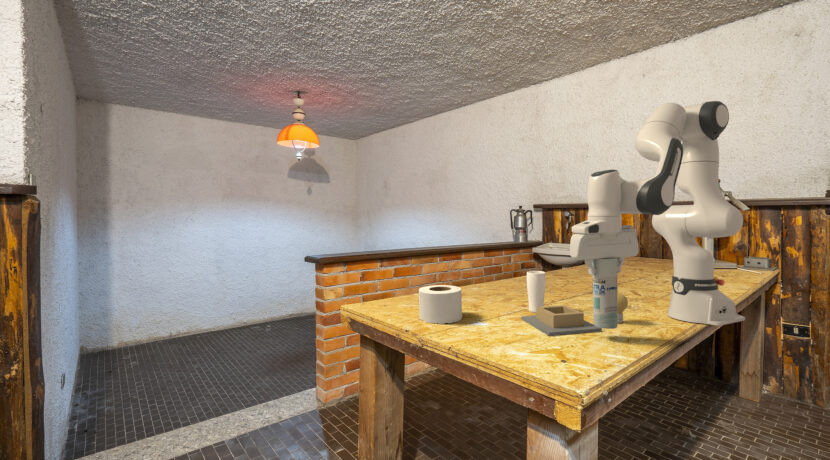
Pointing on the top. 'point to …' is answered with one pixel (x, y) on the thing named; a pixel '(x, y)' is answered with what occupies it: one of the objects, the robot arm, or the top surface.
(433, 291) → the toilet paper roll
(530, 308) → the drinking glass
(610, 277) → the spray paint can
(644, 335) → the top surface
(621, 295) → the light bulb
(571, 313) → the socket
